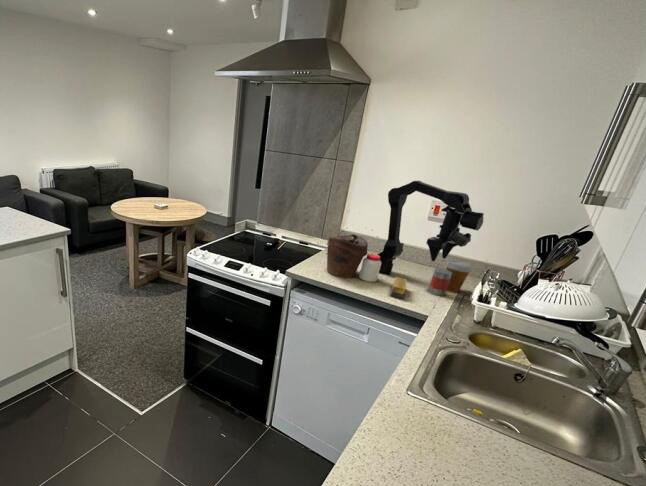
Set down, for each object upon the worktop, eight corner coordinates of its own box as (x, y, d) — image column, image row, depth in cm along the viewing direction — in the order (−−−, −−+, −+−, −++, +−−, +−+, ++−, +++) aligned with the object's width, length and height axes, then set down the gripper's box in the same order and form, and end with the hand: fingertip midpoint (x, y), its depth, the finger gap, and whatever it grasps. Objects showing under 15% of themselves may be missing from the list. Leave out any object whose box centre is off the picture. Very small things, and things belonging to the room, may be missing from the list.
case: (357, 267, 191) (365, 232, 184) (364, 282, 173) (374, 243, 165) (319, 262, 193) (327, 227, 186) (323, 277, 175) (331, 238, 168)
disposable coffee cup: (460, 287, 177) (469, 262, 172) (465, 295, 168) (475, 269, 163) (437, 283, 179) (445, 258, 174) (441, 291, 171) (450, 265, 166)
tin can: (427, 293, 167) (434, 271, 163) (427, 288, 173) (434, 267, 169) (445, 297, 165) (453, 275, 161) (444, 292, 170) (452, 270, 166)
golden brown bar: (390, 296, 161) (393, 286, 159) (392, 286, 172) (395, 276, 170) (402, 298, 159) (405, 289, 157) (403, 288, 170) (406, 279, 168)
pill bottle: (377, 277, 180) (383, 255, 176) (376, 283, 173) (382, 259, 169) (359, 274, 183) (365, 251, 178) (358, 279, 176) (364, 256, 172)
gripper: (460, 231, 150) (446, 269, 156) (481, 227, 160) (468, 263, 166) (431, 223, 158) (420, 260, 164) (453, 220, 168) (442, 254, 175)
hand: (438, 259), depth 167 cm, fingers open, 9 cm apart
